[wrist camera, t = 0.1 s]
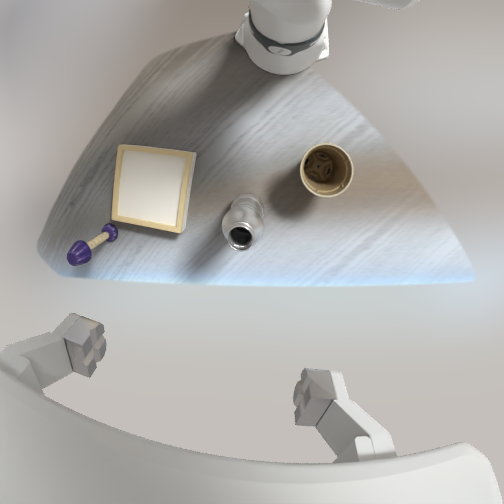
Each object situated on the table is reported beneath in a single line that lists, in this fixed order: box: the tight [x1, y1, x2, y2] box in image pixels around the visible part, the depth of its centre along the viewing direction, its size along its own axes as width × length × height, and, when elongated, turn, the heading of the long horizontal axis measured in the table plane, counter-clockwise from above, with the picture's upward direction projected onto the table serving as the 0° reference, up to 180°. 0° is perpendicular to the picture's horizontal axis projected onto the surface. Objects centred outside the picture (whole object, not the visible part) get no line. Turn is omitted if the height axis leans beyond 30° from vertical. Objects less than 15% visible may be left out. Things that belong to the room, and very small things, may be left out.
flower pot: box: [300, 143, 353, 198], centre depth 49 cm, size 9×9×9 cm
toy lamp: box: [67, 224, 118, 266], centre depth 52 cm, size 5×5×17 cm
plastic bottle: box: [222, 194, 265, 251], centre depth 47 cm, size 6×7×20 cm
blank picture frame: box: [112, 144, 197, 233], centre depth 53 cm, size 16×16×4 cm
